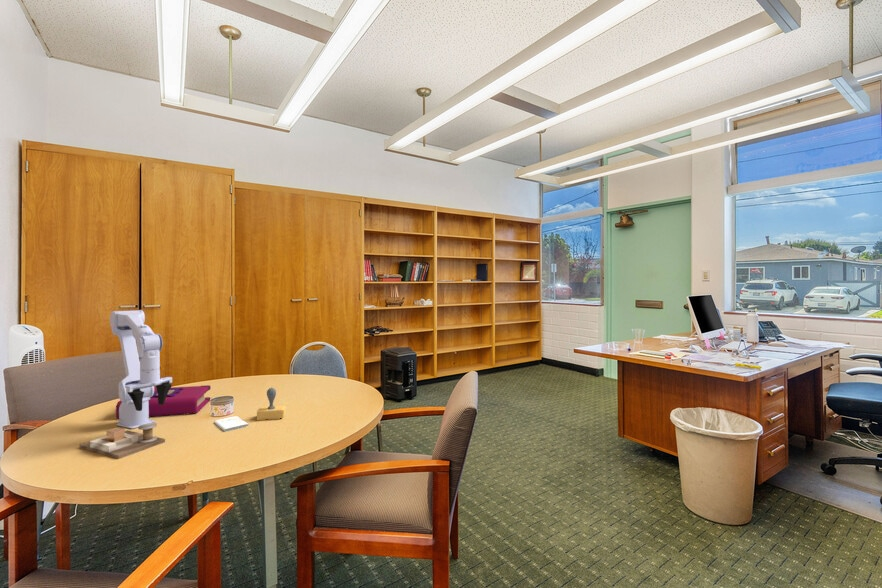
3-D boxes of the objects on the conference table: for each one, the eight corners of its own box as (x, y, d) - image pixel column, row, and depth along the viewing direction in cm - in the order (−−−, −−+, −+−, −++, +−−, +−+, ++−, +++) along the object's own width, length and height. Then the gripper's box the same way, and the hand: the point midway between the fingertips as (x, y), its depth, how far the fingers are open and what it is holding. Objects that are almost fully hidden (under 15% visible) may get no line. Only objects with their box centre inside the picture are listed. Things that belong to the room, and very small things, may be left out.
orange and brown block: (106, 445, 129) (106, 430, 129) (117, 442, 132) (116, 427, 132) (114, 447, 128) (114, 432, 127) (124, 444, 130) (124, 429, 130)
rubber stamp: (256, 420, 157) (256, 390, 156) (259, 416, 162) (259, 386, 162) (283, 419, 159) (283, 389, 159) (285, 414, 165) (285, 385, 164)
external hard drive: (224, 433, 145) (214, 424, 154) (248, 427, 151) (237, 419, 160) (224, 429, 145) (214, 420, 154) (248, 423, 151) (237, 415, 160)
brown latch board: (79, 448, 130) (79, 429, 129) (126, 433, 143) (126, 416, 142) (118, 458, 122) (118, 439, 122) (165, 441, 135) (164, 424, 135)
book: (196, 415, 163) (196, 396, 163) (115, 420, 156) (115, 401, 156) (211, 400, 184) (211, 383, 183) (140, 404, 176) (139, 387, 176)
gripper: (135, 374, 134) (135, 414, 134) (177, 366, 147) (178, 402, 147) (121, 372, 136) (122, 412, 137) (164, 364, 150) (165, 400, 150)
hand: (150, 407), depth 142 cm, fingers open, 7 cm apart
